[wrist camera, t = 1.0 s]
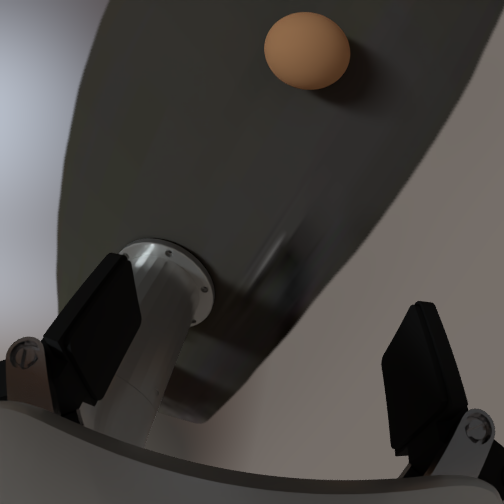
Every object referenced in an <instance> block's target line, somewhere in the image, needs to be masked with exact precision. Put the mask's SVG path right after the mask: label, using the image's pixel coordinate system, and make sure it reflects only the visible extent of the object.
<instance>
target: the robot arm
mask: <svg viewBox="0 0 504 504" xmlns="http://www.w3.org/2000/svg"><path fill="white" fill-rule="evenodd" d="M214 298H215V291H214V285H213V282H212V279H211V277H210V275H209V273H208V272H207V270H206V268H205V267H204V266H203V265H202V263H201V262H200V261H199V260H198V259H197V258H196V257H194V256H193V255H192V254H191V253H190V252H188V251H187V250H185V249H184V248H182V247H180V246H178V245H176V244H174V243H171V242H168V241H165V240H161V239H152V238H148V239H140V240H136V241H133V242H131V243H130V244H128V245H126V246H125V247H124V248H123V250H122V251H121V252H120V253H119V254H115V253H109V254H108V255H107V256H106V257H105V258H104V259H103V260H102V262H101V263H100V264H99V265H98V266H97V268H96V269H95V270H94V271H93V272H92V273H91V275H90V276H89V277H88V278H87V280H86V281H85V282H84V283H83V284H82V286H81V287H80V288H79V289H78V291H77V292H76V293H75V294H74V296H73V297H72V298H71V300H70V301H69V302H68V303H67V305H66V306H65V307H64V309H63V310H62V311H61V312H60V314H59V315H58V316H57V318H56V319H55V320H54V322H53V323H52V325H51V326H50V327H49V329H48V330H47V331H46V333H45V334H44V335H43V337H44V338H43V339H42V340H41V342H40V341H39V340H38V339H36V338H34V337H23V338H21V339H18V340H17V341H16V342H14V343H13V344H12V345H11V346H10V348H9V349H8V351H7V354H6V360H3V361H0V504H504V447H503V446H502V445H500V444H499V443H498V442H497V441H495V440H494V436H495V426H494V423H493V421H492V419H491V417H490V416H489V415H488V414H487V413H486V412H485V411H483V410H481V409H471V410H469V411H468V408H467V405H468V402H467V398H466V395H465V391H464V387H463V384H462V381H461V377H460V374H459V371H458V368H457V365H456V361H455V359H454V355H453V352H452V349H451V347H450V344H449V341H448V338H447V335H446V333H445V330H444V328H443V325H442V322H441V320H440V317H439V314H438V312H437V309H436V307H435V305H434V304H433V303H431V302H422V301H417V302H416V303H415V305H411V306H410V308H409V310H408V312H407V314H406V316H405V317H404V319H403V321H402V323H401V325H400V327H399V329H398V331H397V332H396V334H395V336H394V338H393V339H392V342H391V343H390V345H389V346H388V348H387V350H386V352H385V353H384V355H383V357H382V364H381V365H382V372H383V379H384V386H385V394H386V401H387V410H388V420H389V430H390V441H391V447H392V448H393V449H395V456H407V455H408V456H409V464H408V465H407V466H406V468H405V469H404V470H403V472H402V473H401V475H400V476H399V477H398V478H397V479H381V480H380V479H379V480H315V479H299V478H286V477H277V476H268V475H260V474H252V473H246V472H240V471H234V470H228V469H223V468H218V467H213V466H208V465H204V464H199V463H195V462H191V461H187V460H183V459H178V458H175V457H171V456H167V455H164V454H161V453H157V452H154V451H150V450H147V449H144V447H145V444H146V441H147V438H148V435H149V432H150V429H151V427H152V424H153V421H154V419H155V416H156V414H157V411H158V408H159V406H160V403H161V400H162V398H163V395H164V392H165V390H166V387H167V384H168V382H169V379H170V377H171V374H172V371H173V369H174V366H175V364H176V361H177V358H178V356H179V353H180V351H181V348H182V346H183V343H184V340H185V338H186V335H187V333H188V330H189V328H190V327H192V326H195V325H197V324H199V323H201V322H202V321H203V320H204V319H205V318H207V317H208V315H209V313H210V312H211V309H212V307H213V304H214Z"/></svg>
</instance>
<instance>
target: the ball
mask: <svg viewBox="0 0 504 504" xmlns="http://www.w3.org/2000/svg"><path fill="white" fill-rule="evenodd" d="M264 51H265V57H266V61H267V63H268V65H269V67H270V69H271V70H272V72H273V73H274V74H275V75H276V76H277V77H278V78H279V79H280V80H281V81H283V82H284V83H286V84H288V85H290V86H292V87H295V88H299V89H305V90H315V89H320V88H324V87H327V86H329V85H331V84H333V83H334V82H336V81H337V80H338V79H339V78H340V77H341V76H342V75H343V74H344V72H345V71H346V69H347V67H348V64H349V60H350V46H349V42H348V40H347V37H346V36H345V34H344V32H343V31H342V29H341V28H340V27H339V26H338V25H337V24H336V23H334V22H333V21H332V20H330V19H329V18H327V17H325V16H322V15H320V14H316V13H310V12H300V13H294V14H290V15H288V16H285V17H284V18H282V19H280V20H279V21H278V22H276V23H275V24H274V25H273V26H272V28H271V29H270V31H269V32H268V34H267V37H266V40H265V46H264Z"/></svg>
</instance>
